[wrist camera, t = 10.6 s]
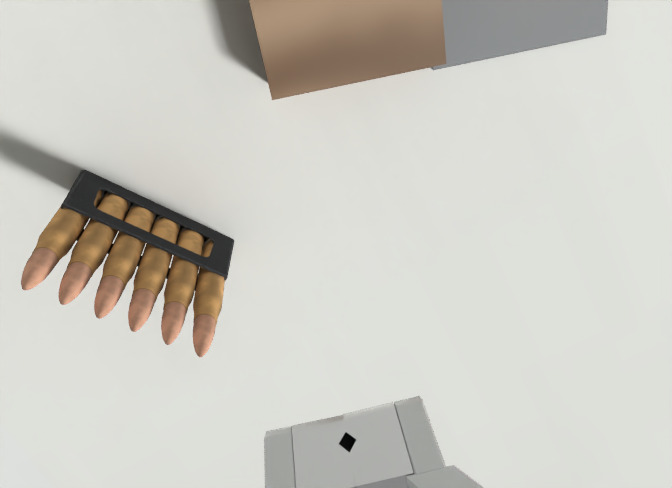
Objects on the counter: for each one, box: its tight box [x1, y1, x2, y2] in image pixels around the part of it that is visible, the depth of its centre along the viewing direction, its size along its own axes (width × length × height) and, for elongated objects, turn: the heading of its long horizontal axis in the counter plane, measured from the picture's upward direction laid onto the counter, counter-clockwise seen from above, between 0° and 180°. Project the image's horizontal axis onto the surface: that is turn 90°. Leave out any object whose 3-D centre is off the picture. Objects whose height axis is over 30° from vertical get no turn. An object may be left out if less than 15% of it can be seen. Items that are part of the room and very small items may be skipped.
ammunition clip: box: [21, 170, 234, 357], centre depth 33 cm, size 11×2×12 cm, turn 58°
